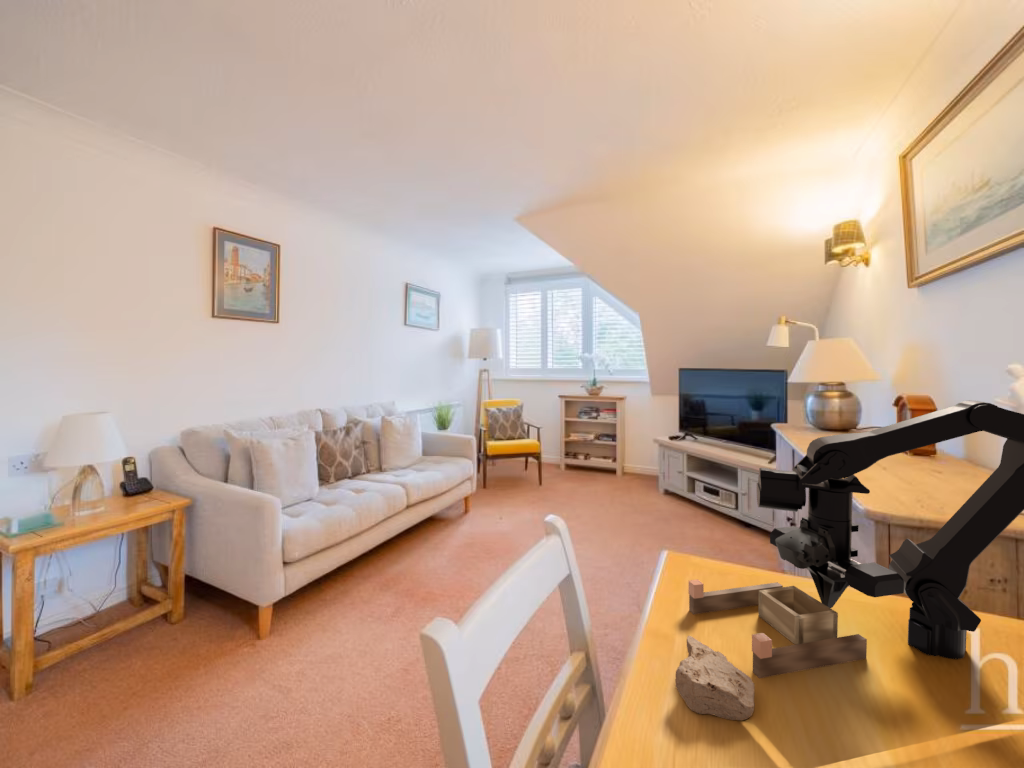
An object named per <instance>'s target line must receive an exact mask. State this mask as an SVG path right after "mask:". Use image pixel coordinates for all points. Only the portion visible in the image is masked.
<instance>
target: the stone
mask: <svg viewBox="0 0 1024 768" xmlns="http://www.w3.org/2000/svg"><path fill="white" fill-rule="evenodd" d="M686 650H687V653H688V655H687V657H686V658H684V659H683V660H681V661H680V663H679V665H678V667H677V668H676V670H675V688H676V689H677V691H678V693H679V695H680V698H682V699H683V700H684V702H685V704H686V706H687V707H688V708H689V710H691V711H692V712H695V713H696V714H700V715H705V714H706V715H707V714H708V715H712V716H716V717H718V718H722V719H725V720H731V721H735V720H737V721H745V720H747V719H749V718H750V717H752V716H753V714H754V711H755V683H754V682H753V679H752V678H751V677H750V676H749V675H748V674H746V673H745V672H744V671H742V670H741V669H739V668H738V667H736V666H735V665H734V664H733V663H732V662H730V661H728V658H727V656H725V654H724V653H723V652H721V651H719V650H717V651H715V650H714V649H713V648H712V647H711V648H710V646H708V645H706V644H703V642H701V641H700V640H698V639H696V638H695V637H694V636H692V635H687V636H686Z"/></svg>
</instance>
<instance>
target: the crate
mask: <svg viewBox="0 0 1024 768" xmlns="http://www.w3.org/2000/svg"><path fill="white" fill-rule="evenodd" d="M758 617H759V618H761V620H763V621H764V622H766V623H767V624H768V625H769V626H771V627H772V628H774V630H775V631H776V632H778V633H780V634H781V635H782V636H783V637H784V638H787V640H788V641H790V642H792V644H793V645H797V644H802V643H808V642H814V641H820V640H826V639H832V638H838V628H839V625H838V620H839V619H838V618H839V613H838V612H837V611H836V610H834V609H832V608H829V607H827V606H826V605H824V604H823V603H821V601H819V600H818V599H817V598H814V597H813V596H811V595H810V594H808V593H806V592H805V591H803V590H802V589H800V588H798V587H797V586H795V585H788V586H783V587H781V588H773V589H766V590H759V605H758Z"/></svg>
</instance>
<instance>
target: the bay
mask: <svg viewBox="0 0 1024 768" xmlns="http://www.w3.org/2000/svg"><path fill="white" fill-rule="evenodd" d="M704 586H705V585H704V583H703V582H702V581H701V580H699V579H691V580H688V596H689V597H688V598H689V599H688V600H689V601H688V602H689V603H688V604H689V605H688V606H689V608H688V609H689V612H690V613H691V614H692V615H699V614H705V613H706V614H707V613H712V612H713V613H714V612H719V611H726V610H732V609H733V610H735V609H741V608H748V607H754V606H759V590H766V589H773V588H781V587H784V586H783V584H780V583H779V582H770V583H762V584H755V585H746V586H741V587H733V588H725V589H720V590H719V589H718V590H711V591H710V590H709V591H705V592H704ZM867 643H868V638H865V637H864V636H862V635H861V634H859V633H858V634H857V633H856V634H852V635H851V634H850V635H845V636H839V637H838V636H837V638H832V639H826V640H820V641H814V642H808V643H802V644H797V645H795V644H791V645H785V646H780V647H779V646H778V647H774V648H773V639H771V638H770V637H769V636H768V635H766V634H765V633H764V632H759V633H752V634H751V652H752V673H753V674H754V675H755V676H756V677H757V678H758V679H763V678H768V677H774V676H779V675H784V674H790V673H796V672H801V671H807V670H813V669H818V668H824V667H829V666H834V665H840V664H845V663H852V662H855V661H856V662H857V661H861V660H866V659H867V649H868V647H867V645H868V644H867Z"/></svg>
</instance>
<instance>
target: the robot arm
mask: <svg viewBox="0 0 1024 768" xmlns="http://www.w3.org/2000/svg"><path fill="white" fill-rule="evenodd" d="M978 432H985V433H989V434H992V435H994V436H999V437H1001V438H1003V439H1006V440H1005V442H1004V443H1003V446H1002V452H1001V457H1000V462H999V465H998V467H997V468H996V469H995V470H994V471H993V472H992V473H991V474H990V475H989V477H987V478H986V480H985V481H984V482H983V483H982V484H981V485H980V486H979V487H978V488H977V489H976V490H975V491H974V493H973V494H972V495H970V497H969V498H968V499H967V500H966V501H965V502H964V503H963V505H961V506H960V507H959V509H958V510H957V511H956V512H955V513H954V514H953V515H952V516H951V517H950V518H949V519H948V520H947V521H946V522H945V524H944V525H943V526H941V528H940V529H939V530H938V531H937V532H936V533H935V534H934V535H933V536H932V537H931V538H930V539H928V540H924V541H922V542H919V543H915V542H914V541H912V540H911V539H910V538H906V539H904V541H902V543H901V544H900V545H901V546H900V547H899V548H898V549H897V550H896V551H895V552H892V553H891V554H889V555H888V556H889V558H891V561H890V562H889V564H888V565H889V566H888V567H885V566H883V565H882V564H881V565H880V564H879V563H876V562H875V561H874V562H867V563H861V562H858V561H856V560H855V559H853V558H855V557H858V556H859V549H857V548H854V547H852V537H853V535H852V533H855V532H856V533H857V532H859V525H858V524H856V523H853V498H854V497H853V495H854V493H855V494H856V493H857V494H865V495H868V494H870V493H871V491H870V489H869V488H868V487H867V486H866V485H864V484H863V483H862V482H861V481H860V480H859V478H858V477H857V476H856V474H858V473H860V472H863V471H865V470H867V469H868V468H870V467H872V466H873V465H874V464H876V463H877V462H879V461H881V460H883V459H885V458H888V457H890V456H891V457H892V456H895V455H898V454H901V453H902V454H903V453H905V452H910V451H913V450H917V449H919V448H925V447H927V446H931V445H935V444H939V443H942V442H946V441H950V440H952V439H957V438H960V437H963V436H967V435H971V434H975V433H978ZM758 472H759V473H758V477H757V482H756V503H757V507H758V508H762V509H771V510H778V511H786V512H795V513H798V511H799V510H803V507H806V502H807V503H808V505H807V510H808V511H807V516H802V517H801V520H800V523H799V527H798V526H796V525H795V526H793V525H792V526H784V527H775V528H773V529H772V531H771V532H770V534H769V543H770V544H771V545H773V546H775V547H777V551H778V553H779V554H778V555H779V557H780V559H782V560H783V561H786V562H789V564H792V565H793V566H794V567H795V568H797V569H801V570H803V569H805V570H807V571H808V572H809V573H810V576H811V578H812V581H813V583H814V586H815V589H816V591H817V594H818V597H819V599H820V602H821V603H823V604H824V605H826V606H827V607H829V608H831V609H832V608H833V607H834V606H835V605H836V604H837V602H838V600H839V599H840V598H841V596H842V595H843V594H844V592H845V591H846V590H847V588H848V587H850V588H852V589H854V590H856V591H858V592H860V593H861V594H864V595H865V596H867V597H872V598H880V597H887V596H894V595H895V596H896V595H901V594H905V595H906V596H907V598H908V599H909V600H910V601H911V607H909V616H908V617H909V619H908V623H907V624H908V627H907V645H909V646H910V647H912V648H914V649H916V650H917V651H919V652H921V653H922V654H924V655H926V656H932V657H940V658H944V659H949V660H961V659H964V658H965V657H966V656H965V655H966V651H967V631H968V632H975V631H976V630H977V628H978V626H979V625H980V623H981V622H982V619H981V618H980V617H979V616H978V614H976V613H975V612H974V610H972V609H971V608H970V607H969V606H968V605H967V604H966V603H964V601H963V600H961V598H960V597H961V595H962V594H963V592H964V591H965V589H966V587H967V584H968V579H969V573H970V569H971V565H972V563H973V562H974V561H975V560H976V559H977V558H978V557H979V556H980V555H981V554H982V553H983V552H984V551H985V550H986V549H987V548H988V547H989V546H990V545H991V544H992V543H993V542H994V541H995V540H996V539H997V538H998V537H999V536H1000V535H1001V534H1002V533H1003V532H1004V531H1005V530H1006V529H1007V528H1008V527H1009V526H1010V525H1011V524H1012V523H1013V522H1014V521H1015V520H1016V519H1017V518H1018V517H1019V516H1020V515H1021V514H1022V513H1023V511H1024V413H1021V412H1017V411H1013V410H1010V409H1008V408H1007V409H1005V408H1003V407H999V406H998V405H995V404H994V403H991V402H985V401H979V400H963V401H960V402H958V403H957V404H955V405H952V406H949V407H945V408H942V409H938V410H936V411H933V412H932V411H931V412H929V413H925V414H923V415H919V416H916V417H911V418H910V419H906V420H902V421H899V422H896V423H892V424H889V425H885V426H882V427H880V428H875V429H872V430H870V431H868V430H867V431H863V432H855V433H852V432H851V433H841V434H840V433H839V434H834V435H828V436H822V437H817V438H815V439H813V440H811V442H809V445H808V447H807V448H806V455H805V456H803V458H802V459H800V460H799V461H798V462H797V463H796V465H794V466H793V467H792V469H791V471H790V470H782V469H781V470H780V469H772V468H768V467H760V468H759V471H758ZM807 489H808V496H807ZM807 497H808V500H807Z"/></svg>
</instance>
